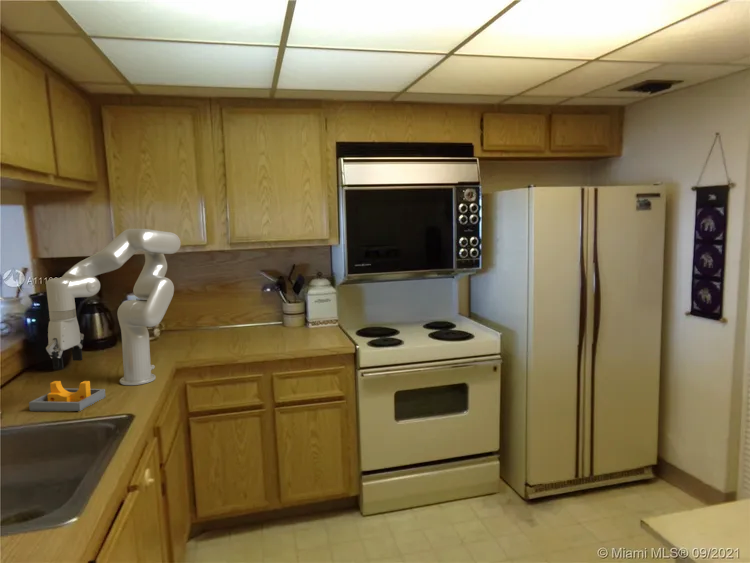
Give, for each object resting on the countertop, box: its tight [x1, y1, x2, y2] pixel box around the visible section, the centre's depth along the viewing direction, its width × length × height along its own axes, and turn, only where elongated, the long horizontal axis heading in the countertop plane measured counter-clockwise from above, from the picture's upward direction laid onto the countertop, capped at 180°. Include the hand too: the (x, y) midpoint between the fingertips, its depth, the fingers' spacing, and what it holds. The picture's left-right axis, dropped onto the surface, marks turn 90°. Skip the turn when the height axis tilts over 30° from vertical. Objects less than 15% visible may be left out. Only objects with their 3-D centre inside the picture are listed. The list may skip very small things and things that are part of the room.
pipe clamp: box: [46, 380, 91, 402], centre depth 169 cm, size 12×4×6 cm, turn 90°
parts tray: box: [28, 387, 106, 412], centre depth 169 cm, size 14×17×3 cm
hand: (68, 364), depth 168 cm, fingers open, 9 cm apart
